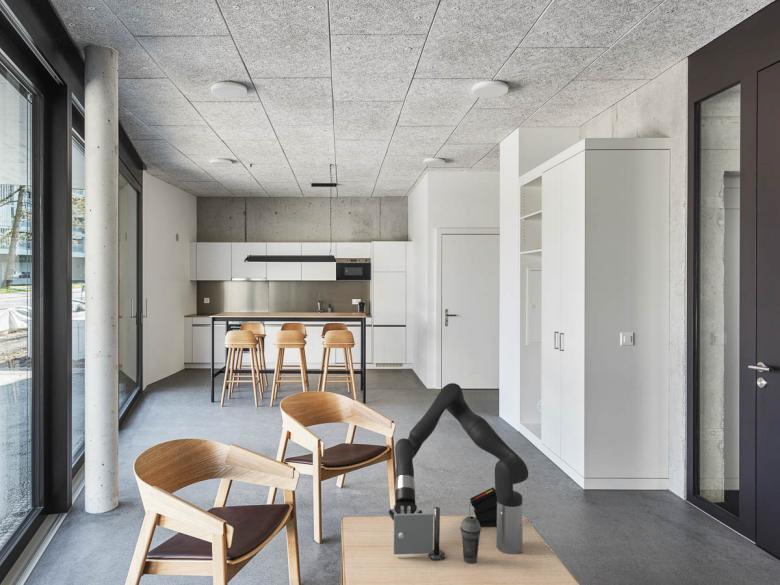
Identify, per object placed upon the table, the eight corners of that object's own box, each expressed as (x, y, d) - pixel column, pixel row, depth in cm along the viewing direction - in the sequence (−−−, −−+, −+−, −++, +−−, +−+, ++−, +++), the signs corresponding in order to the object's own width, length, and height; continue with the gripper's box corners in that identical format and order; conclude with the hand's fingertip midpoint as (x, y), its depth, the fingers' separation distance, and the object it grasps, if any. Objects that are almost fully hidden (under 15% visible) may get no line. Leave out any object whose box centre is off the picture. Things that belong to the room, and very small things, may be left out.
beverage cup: (467, 567, 194) (468, 510, 193) (455, 558, 200) (456, 502, 199) (484, 563, 197) (485, 506, 196) (472, 553, 203) (473, 499, 203)
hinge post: (445, 553, 204) (446, 505, 203) (444, 561, 198) (444, 512, 197) (429, 551, 205) (429, 504, 204) (427, 559, 199) (427, 510, 198)
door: (432, 551, 202) (432, 513, 201) (433, 554, 199) (434, 515, 199) (393, 552, 200) (394, 514, 200) (394, 556, 198) (394, 516, 198)
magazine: (511, 522, 226) (496, 489, 225) (482, 537, 225) (466, 504, 224) (509, 518, 229) (493, 486, 229) (480, 533, 229) (464, 500, 228)
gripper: (422, 494, 216) (423, 541, 204) (387, 494, 216) (387, 540, 204) (423, 486, 210) (424, 533, 199) (387, 486, 210) (387, 533, 199)
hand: (405, 537), depth 201 cm, fingers closed
